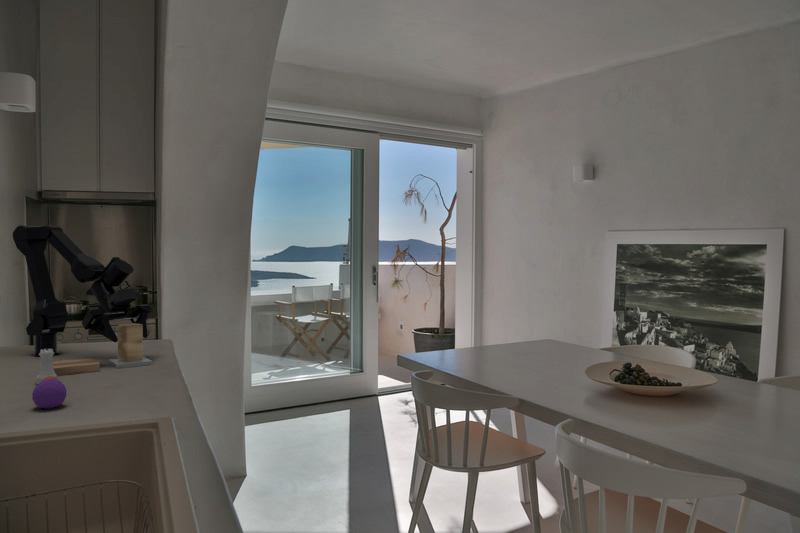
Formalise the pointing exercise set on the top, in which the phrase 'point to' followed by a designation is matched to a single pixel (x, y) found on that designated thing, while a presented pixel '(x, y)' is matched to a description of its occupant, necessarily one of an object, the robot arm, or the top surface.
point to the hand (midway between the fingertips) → (131, 339)
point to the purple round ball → (49, 393)
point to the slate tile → (129, 363)
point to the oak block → (130, 342)
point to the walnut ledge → (75, 366)
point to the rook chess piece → (45, 365)
